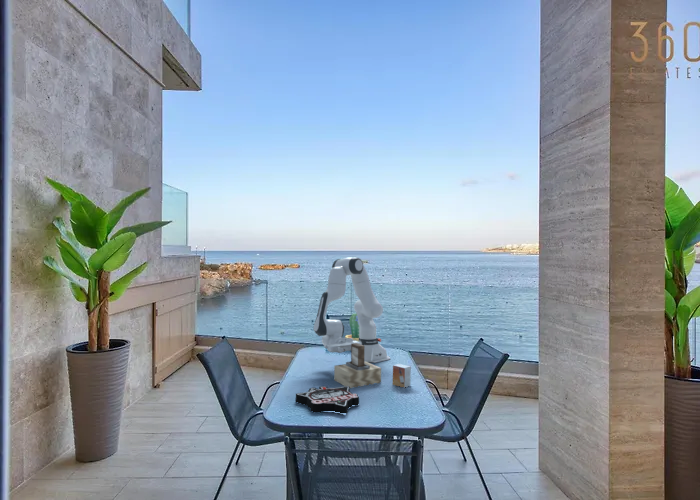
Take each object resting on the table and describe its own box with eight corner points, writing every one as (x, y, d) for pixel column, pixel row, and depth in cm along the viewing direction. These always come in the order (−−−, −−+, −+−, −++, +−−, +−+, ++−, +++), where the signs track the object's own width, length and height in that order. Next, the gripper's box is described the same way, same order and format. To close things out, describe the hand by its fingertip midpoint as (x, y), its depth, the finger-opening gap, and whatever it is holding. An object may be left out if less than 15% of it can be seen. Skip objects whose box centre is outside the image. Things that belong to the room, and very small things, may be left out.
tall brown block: (356, 364, 241) (356, 343, 241) (364, 368, 234) (364, 345, 234) (351, 365, 239) (351, 343, 240) (358, 368, 233) (358, 346, 233)
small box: (392, 385, 232) (392, 365, 232) (398, 382, 236) (398, 363, 236) (404, 388, 226) (404, 368, 226) (410, 386, 230) (411, 366, 230)
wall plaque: (343, 383, 221) (373, 401, 195) (343, 391, 221) (373, 410, 194) (291, 390, 208) (315, 411, 182) (291, 399, 208) (315, 421, 182)
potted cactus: (345, 349, 314) (345, 314, 314) (344, 344, 329) (345, 311, 329) (366, 349, 314) (367, 315, 314) (365, 345, 330) (365, 312, 330)
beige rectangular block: (365, 375, 249) (365, 358, 249) (380, 382, 235) (381, 365, 235) (334, 380, 239) (334, 362, 239) (349, 388, 225) (349, 369, 225)
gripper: (323, 341, 250) (335, 345, 238) (353, 337, 260) (366, 342, 249) (323, 352, 250) (334, 357, 238) (353, 348, 260) (366, 353, 249)
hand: (351, 349), depth 243 cm, fingers open, 8 cm apart
